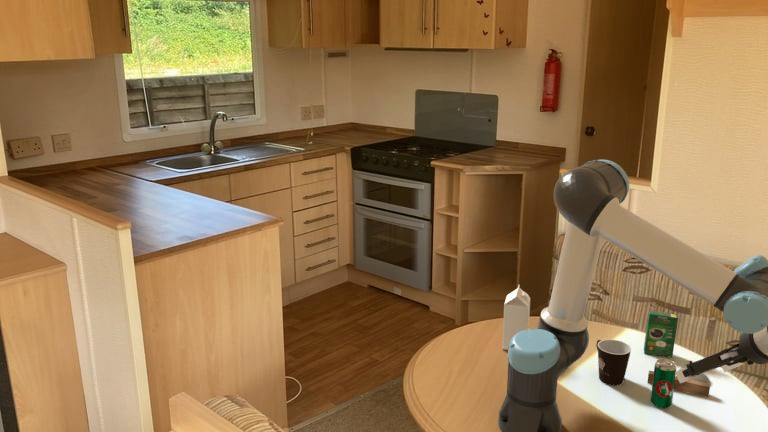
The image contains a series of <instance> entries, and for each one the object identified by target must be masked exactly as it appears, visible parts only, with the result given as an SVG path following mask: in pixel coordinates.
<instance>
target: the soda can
mask: <svg viewBox="0 0 768 432" xmlns="http://www.w3.org/2000/svg"><path fill="white" fill-rule="evenodd" d="M653 371H654V375H653V384H651V385H652V386H651V395H650V402H651V404H652V405H653V406H654V407H656V408H658V409H663V410H665V409H666V410H667V409H669V408H670V407H672V405H673V399H674V384H675V376H676V374H675V372H676V371H677V366H676V363H675V362H674V361H673V360H671V359H669V358H663V357H662V358H657V360H656V362H655V363H654V367H653Z"/></svg>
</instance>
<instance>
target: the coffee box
mask: <svg viewBox="0 0 768 432" xmlns="http://www.w3.org/2000/svg"><path fill="white" fill-rule="evenodd" d="M678 322H679V316H678V314H677V313H669V312H668V313H667V312H662V311H655V310H654V311H653V310H649V312H648V318H647V324H646V330H645V336H644V345H643V353H644V354H647V355H653V356H661V357H665V358H666V357H667V358H673V355H674V348H675V342H676V341H675V340H676V335H677V330H678Z"/></svg>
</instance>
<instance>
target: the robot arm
mask: <svg viewBox="0 0 768 432" xmlns="http://www.w3.org/2000/svg"><path fill="white" fill-rule="evenodd" d="M629 191H630V179H629V177H628V175H627V173H626V171H625V170H624V169H623V168H622V166H620V165H619V164H618V163H616V162H615V161H612V160H608V159H595V160H590V161H587V162H585V163H584V164H583V165H580V166H577V167H575V168H572V169H569V170H567V171H566V172H564V173H563V174H562V175H561V176H560V177H559V178H558V179H557V181H556V183H555V186H554V188H553V201H554V202H553V203H554V205H555V207H556V209H557V211H558V212H559V214H560V215H561V216H562V217H563V218H564V219H565V220H566V221H567V224H566V225H567V226H566V230H565V235H564V238H563V239H564V240H563V242H562V247H561V251H560V256H559V259H558V260H559V261H558V264H557V269H556V274H555V278H554V283H553V287H552V292H551V295H550V296H551V297H550V298H549V299H550V300H549V302H548V303H549V304H548V306H547V307H544V308H543V309H541V312H540V316H539V320H538V324H537V328H529V331H527V330H523V331H520V332H518V333H517V334H515V335H514V336H513V338H512V339H511V341H510V345H509V350H507V376H506V377H507V380H506V381H507V382H506V396H505V397H504V400H503V402H502V404H501V406H500V409H499V412H498V417H497V419H498V421H497V422H498V423H497V425H498V427H499V429H500V430H501V432H562V430H563V429H562V428H563V427H562V426H563V421H562V416H561V413H560V409H559V406H558V403H557V393H558V392H557V391H558V380H559V378H560V377H561V376H562V374H563V373H564V372H566V371H567V370H568V369H569V368H570V367H571V366H573V364H574V363H575V362H577V361H578V360H580V359H581V358H582V357H583V355H584V354H585V353H586V350H587V348H588V347H589V344H590V343H589V342H590V334H589V330H588V328H589V327H588V326H589V322H588V320H587V317H585V311H586V307H587V303H588V300H589V296H590V292H591V288H592V285H593V280H594V277H595V273H596V269H597V266H598V260H599V256H600V252H601V249H602V246H603V242H604V240H606V241H607V242H608V243H610V244H612V245H613V246H615V247H617V248H618V249H620V250H621V251H623V252H625V253H626V254H628V255H630V256H631V257H633V258H635V260H636V259H637V260H638V261H639V262H641V263H643V264H644V265H646V266H648V267H649V268H651V269H653V270H654V271H655V272H657V273H659V274H661V275H662V276H664V277H665V278H666V279H669V280H670V281H672V282H673V283H675V284H677V285H678V286H680V287H682V288H683V289H685V290H686V291H689V293H692V294H693V295H695V296H697V297H698V298H700V299H701V300H703V301H704V302H706V303H707V304H709V305H711V306H713V307H715V308H716V309H717V310H718V311H720V312H722V313H723V317H724V319H725V321H726V322H727V324H728V325H729V326H730V327H731V328H732V329H733V330H735V331H736V332H740V333H741V335H740V336H739V343H736V344H733V345H732V346H731V347H729V348H725V349H723V350H720V351H719V352H716V353H713V354H712V355H708V356H707V357H704V358H701V359H699V360H697V361H694V362H693V361H692V360H689V361H688V363H687V364H685V367H682V368H681V369H679V370H676V372H675V374H676V376H677V378H678V380H679V382H680V383H683V382H686V381H688V380H690V379H692V378H695V377H697V376H699V375H701V373H703V374H705V373H708V372H709V371H712V370H715V369H718V368H722V370H723V372H724V373H727V372H730V371H731V370H734V369H735V368H738V367H740V366H743V365H745V364H747V365H748V366H750V365H754V364H756V365H767V364H768V258H766V257H765V256H764V255H761V254H756V255H754V256H752V257H750V258H749V259H747V260H746V261H744V262H742V264H740V265H739V266H738V267H736V268H735V269H734V270H731V269H730V268H728V267H726V266H724V265H723V264H722V263H719V262H718V261H716V260H714V259H712V258H711V257H709V256H707V255H706V254H704V253H702V252H700V251H699V250H698V249H695V248H694V247H692V246H691V245H689V244H686V243H685V242H683V241H682V240H680V239H679V238H676V236H673V235H671V234H669V233H668V232H666V231H665V230H663V229H661V228H659V227H658V226H656V225H654V224H653V223H651V222H650V221H648V220H645V219H644V218H643V217H641V216H639V215H637V214H635V213H634V212H632V211H630V210H629V209H627V208H625V207H623V206H622V205H620V204H622V203H623V202H624V201H625V200H626V197H628V195H629Z"/></svg>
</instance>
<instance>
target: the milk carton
mask: <svg viewBox="0 0 768 432" xmlns="http://www.w3.org/2000/svg"><path fill="white" fill-rule="evenodd" d="M530 310H531V297H530V295H529V294H528V293H527V292H526V291H524V290H523V289H522V288H521V287H520V284H518V286H517V288H516V289H514V290H513V291H511V292H510V293H508V294H507V295H506V297H505V301H504V304H503V328H502V329H503V330H502V345H501V347H502V350H506V351H508V350H509V345H510V341H511V339H512V338H513V336H514V335H515V334H517V333H518V332H520V331H523V330H527V331H529V329H530V315H531V314H530V312H531V311H530Z"/></svg>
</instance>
